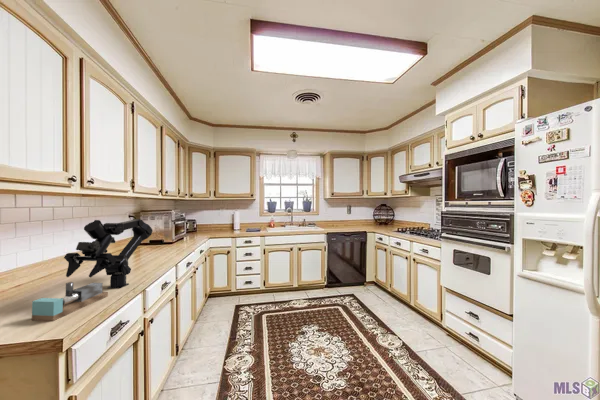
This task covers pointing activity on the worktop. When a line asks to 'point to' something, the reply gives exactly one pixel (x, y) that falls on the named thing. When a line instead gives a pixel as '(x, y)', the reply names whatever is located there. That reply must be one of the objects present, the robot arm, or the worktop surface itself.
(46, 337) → the worktop surface
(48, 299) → the socket block
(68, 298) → the slip tube
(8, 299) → the worktop surface
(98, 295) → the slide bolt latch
